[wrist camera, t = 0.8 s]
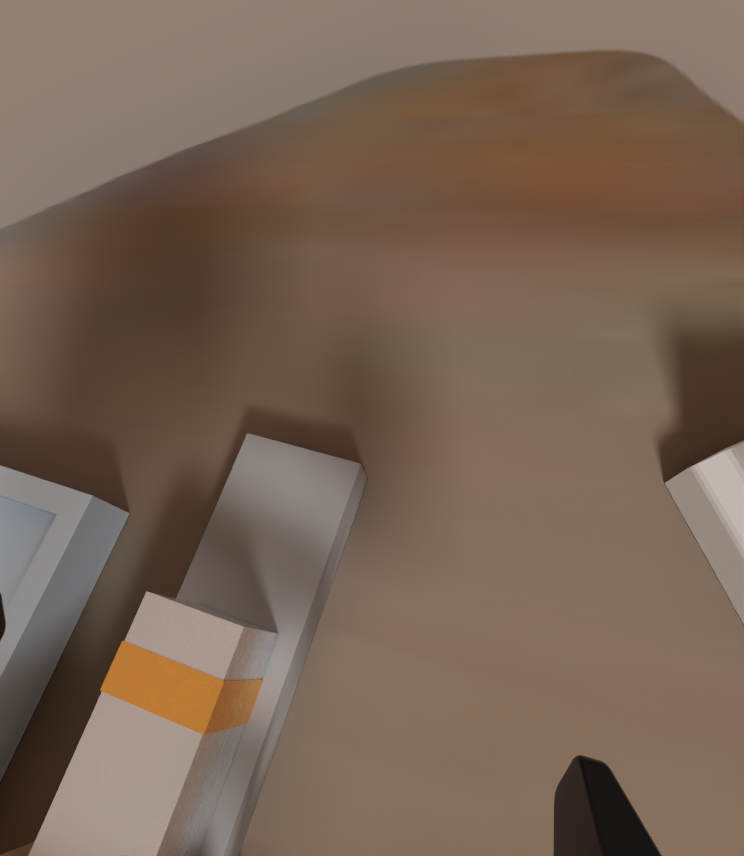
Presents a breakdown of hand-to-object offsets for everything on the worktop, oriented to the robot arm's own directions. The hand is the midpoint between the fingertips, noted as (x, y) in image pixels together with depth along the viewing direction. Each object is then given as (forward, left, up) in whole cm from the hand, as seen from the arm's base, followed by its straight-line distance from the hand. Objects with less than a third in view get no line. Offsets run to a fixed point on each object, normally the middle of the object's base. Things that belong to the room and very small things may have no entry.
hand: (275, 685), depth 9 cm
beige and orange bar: (-6, +6, -14) cm, 16 cm away
